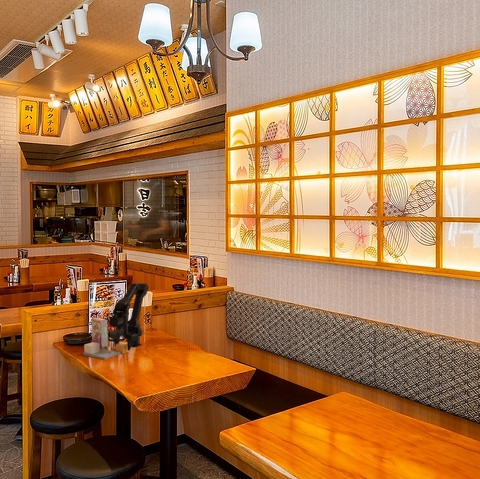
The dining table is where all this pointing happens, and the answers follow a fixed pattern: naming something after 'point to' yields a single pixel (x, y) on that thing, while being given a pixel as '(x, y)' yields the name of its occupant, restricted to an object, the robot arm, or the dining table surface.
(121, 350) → the light orange block
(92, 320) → the candy bar box
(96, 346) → the board
